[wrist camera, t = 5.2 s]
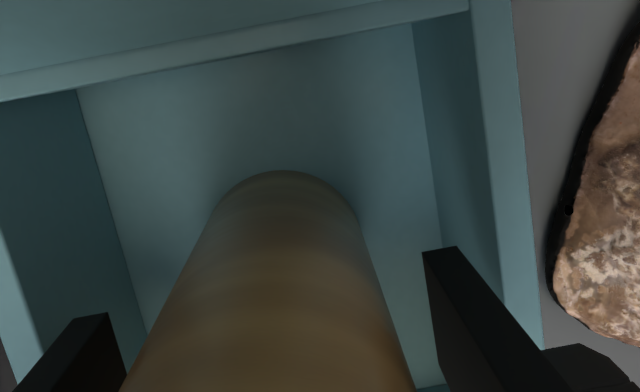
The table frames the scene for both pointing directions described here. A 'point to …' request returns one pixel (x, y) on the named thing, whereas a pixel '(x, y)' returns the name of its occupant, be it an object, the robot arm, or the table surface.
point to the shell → (603, 211)
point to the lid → (127, 25)
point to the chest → (266, 163)
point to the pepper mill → (275, 301)
